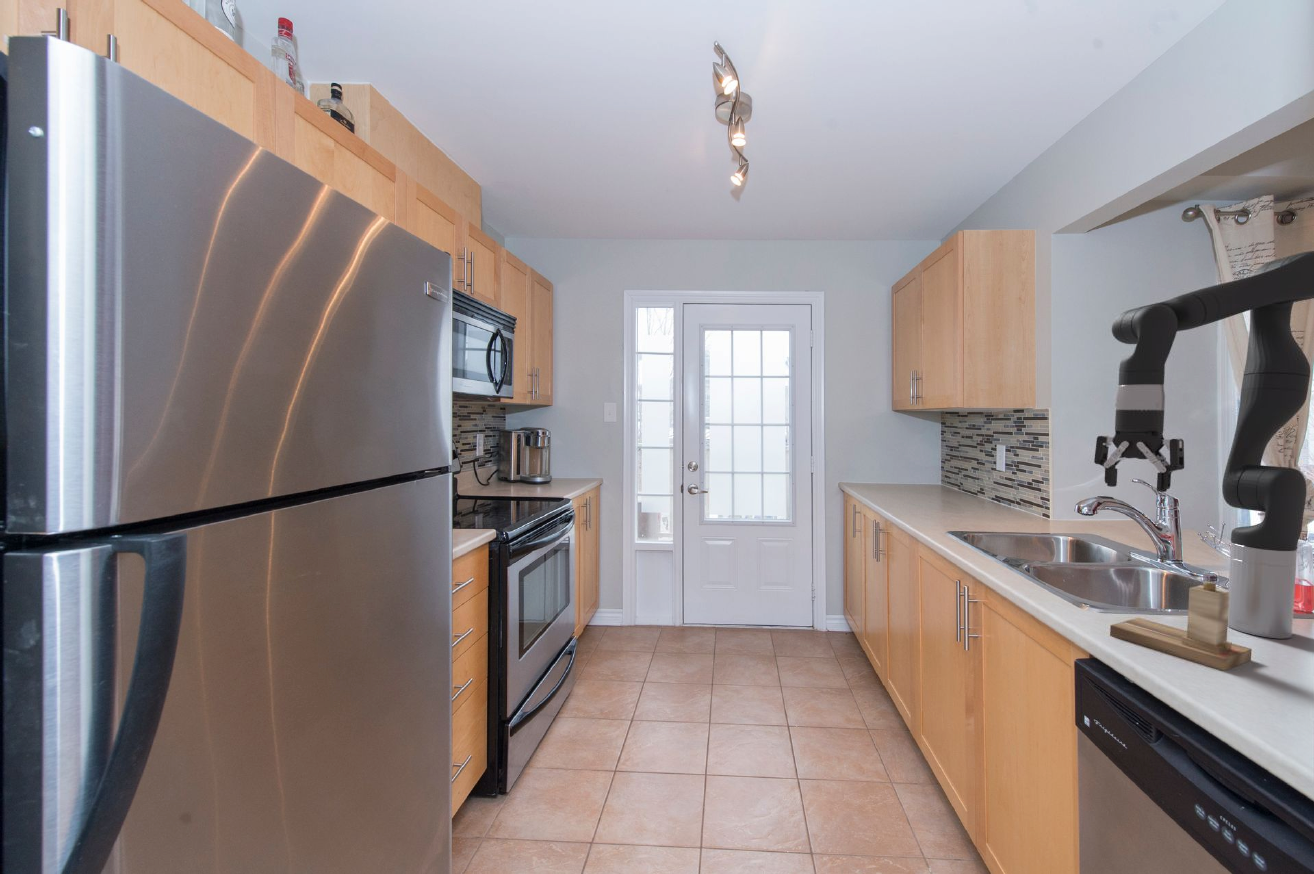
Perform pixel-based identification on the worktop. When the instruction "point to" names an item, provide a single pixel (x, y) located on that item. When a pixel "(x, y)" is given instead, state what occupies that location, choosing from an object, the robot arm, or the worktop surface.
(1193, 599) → the pale wood tall block
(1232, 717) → the worktop surface
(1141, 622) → the plank
